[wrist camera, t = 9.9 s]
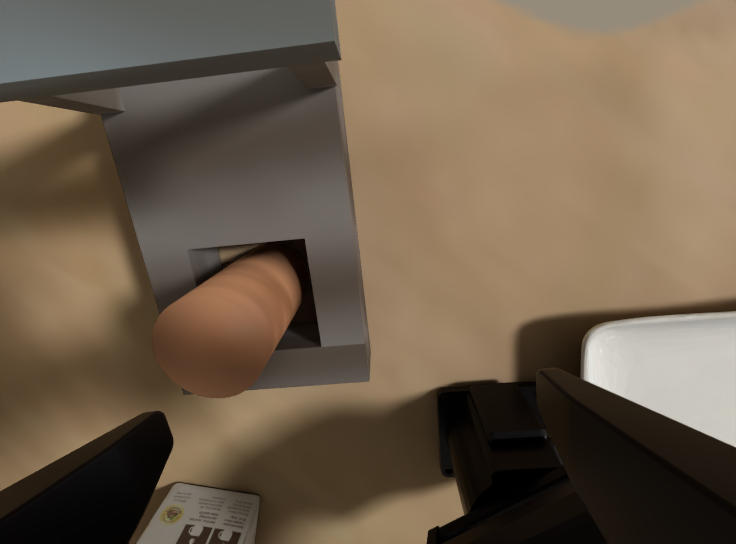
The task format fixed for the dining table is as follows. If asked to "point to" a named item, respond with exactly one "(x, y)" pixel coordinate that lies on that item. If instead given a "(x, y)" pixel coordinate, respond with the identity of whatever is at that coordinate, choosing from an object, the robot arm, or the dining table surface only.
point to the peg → (231, 322)
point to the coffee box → (203, 517)
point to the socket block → (214, 143)
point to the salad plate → (670, 367)
